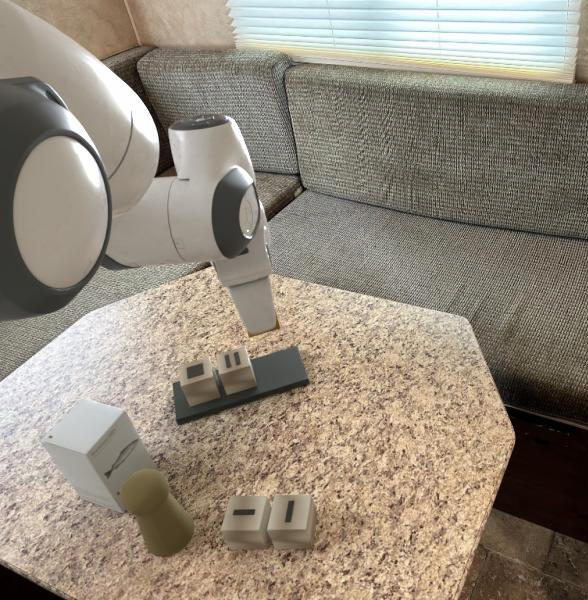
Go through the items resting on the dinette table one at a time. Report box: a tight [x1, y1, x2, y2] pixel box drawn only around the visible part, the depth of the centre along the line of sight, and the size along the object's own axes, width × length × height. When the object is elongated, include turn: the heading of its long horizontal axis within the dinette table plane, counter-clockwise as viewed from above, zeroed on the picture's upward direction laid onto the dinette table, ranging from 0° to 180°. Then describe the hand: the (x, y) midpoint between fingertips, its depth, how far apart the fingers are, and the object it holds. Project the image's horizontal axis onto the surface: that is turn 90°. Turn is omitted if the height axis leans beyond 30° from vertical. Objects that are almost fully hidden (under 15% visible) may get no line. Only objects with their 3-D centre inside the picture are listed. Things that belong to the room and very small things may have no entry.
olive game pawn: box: [120, 469, 196, 558], centre depth 72 cm, size 6×6×11 cm
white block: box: [267, 493, 318, 550], centre depth 73 cm, size 5×5×5 cm
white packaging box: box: [40, 397, 158, 514], centre depth 78 cm, size 7×7×13 cm
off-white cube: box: [220, 494, 272, 551], centre depth 73 cm, size 5×5×5 cm
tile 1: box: [178, 356, 221, 407], centre depth 91 cm, size 5×5×5 cm
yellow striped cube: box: [246, 310, 281, 339], centre depth 87 cm, size 5×5×5 cm
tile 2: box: [215, 345, 257, 395], centre depth 92 cm, size 5×5×5 cm
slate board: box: [172, 345, 311, 426], centre depth 94 cm, size 20×8×1 cm, turn 110°
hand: (259, 315), depth 88 cm, fingers closed on yellow striped cube, 4 cm apart
